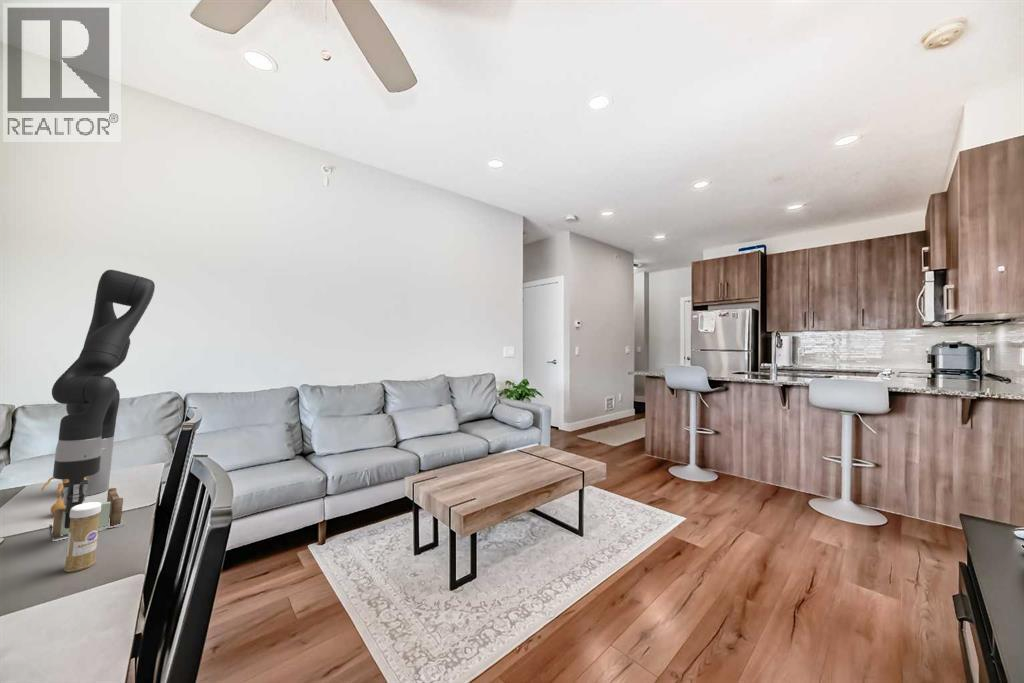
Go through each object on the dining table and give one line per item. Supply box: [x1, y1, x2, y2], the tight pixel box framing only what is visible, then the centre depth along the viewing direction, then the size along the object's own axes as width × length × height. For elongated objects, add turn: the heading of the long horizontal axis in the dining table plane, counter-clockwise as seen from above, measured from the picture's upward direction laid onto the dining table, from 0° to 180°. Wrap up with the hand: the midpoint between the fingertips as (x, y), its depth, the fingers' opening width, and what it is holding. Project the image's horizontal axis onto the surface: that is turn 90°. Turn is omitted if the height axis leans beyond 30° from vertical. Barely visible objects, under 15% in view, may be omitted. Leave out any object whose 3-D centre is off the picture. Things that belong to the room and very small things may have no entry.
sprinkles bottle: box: [63, 501, 102, 573], centre depth 81 cm, size 5×5×14 cm
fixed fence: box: [106, 487, 124, 526], centre depth 102 cm, size 12×2×7 cm, turn 53°
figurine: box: [41, 476, 86, 515], centre depth 103 cm, size 8×6×12 cm
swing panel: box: [51, 501, 111, 537], centre depth 94 cm, size 9×2×6 cm, turn 138°
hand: (71, 526), depth 91 cm, fingers closed
